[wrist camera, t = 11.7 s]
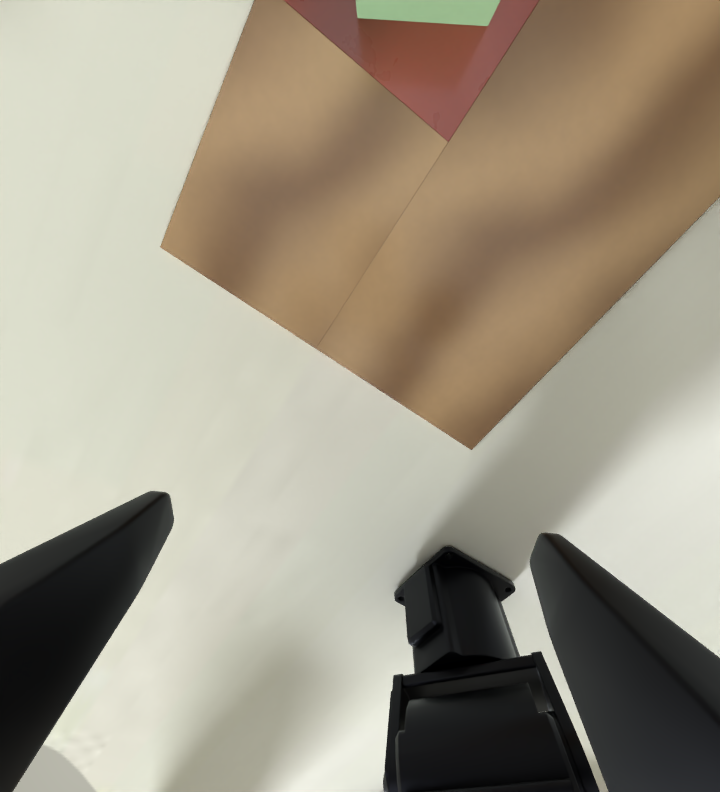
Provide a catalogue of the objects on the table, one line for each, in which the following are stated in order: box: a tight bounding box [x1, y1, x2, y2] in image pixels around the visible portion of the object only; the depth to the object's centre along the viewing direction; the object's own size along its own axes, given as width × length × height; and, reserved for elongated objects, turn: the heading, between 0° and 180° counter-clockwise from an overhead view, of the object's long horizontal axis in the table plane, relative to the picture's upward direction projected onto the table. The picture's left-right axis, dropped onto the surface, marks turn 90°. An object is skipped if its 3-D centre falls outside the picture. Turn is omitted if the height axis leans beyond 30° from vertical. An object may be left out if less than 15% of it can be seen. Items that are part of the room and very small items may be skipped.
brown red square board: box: [160, 0, 720, 450], centre depth 15 cm, size 20×20×1 cm
